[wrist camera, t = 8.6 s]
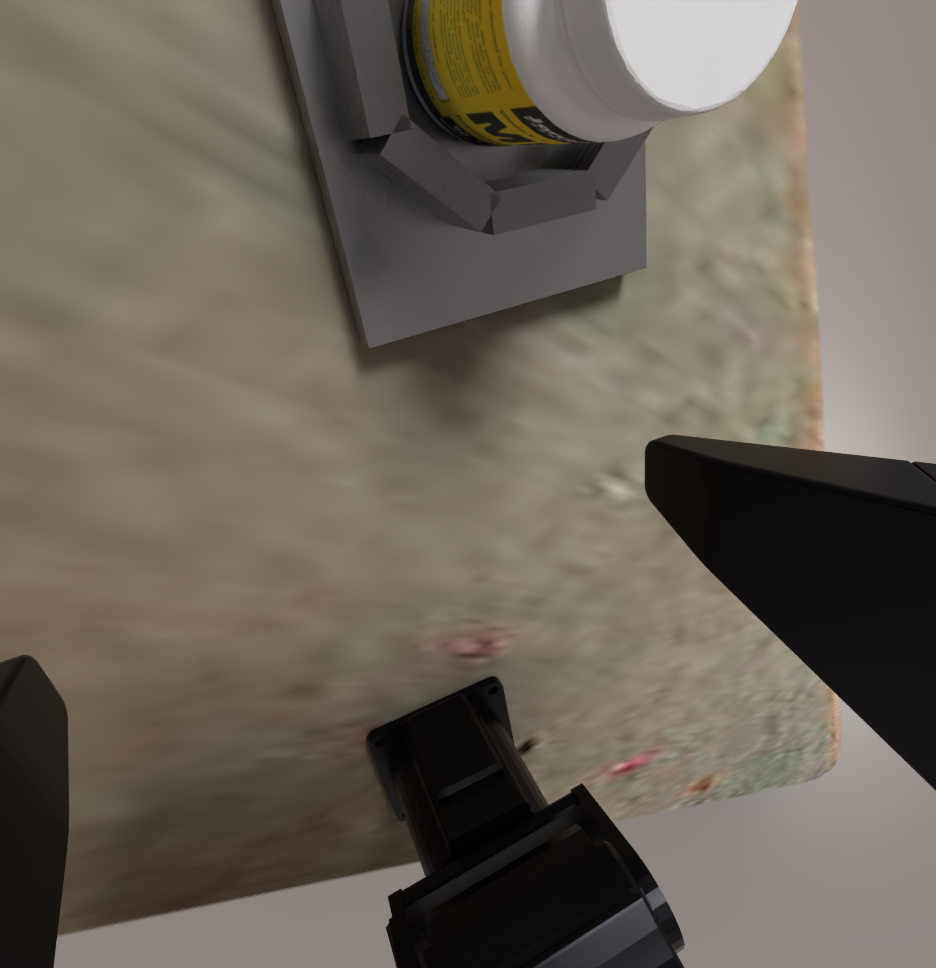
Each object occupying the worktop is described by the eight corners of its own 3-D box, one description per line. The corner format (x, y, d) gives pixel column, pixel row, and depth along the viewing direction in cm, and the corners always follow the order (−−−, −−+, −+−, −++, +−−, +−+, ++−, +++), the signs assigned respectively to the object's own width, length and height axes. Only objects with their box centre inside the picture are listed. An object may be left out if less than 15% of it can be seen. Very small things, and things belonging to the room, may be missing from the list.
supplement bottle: (412, 157, 17) (576, 155, 10) (382, -71, 14) (571, -276, 8) (566, 136, 18) (803, 124, 11) (562, -74, 16) (857, -250, 9)
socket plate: (625, 262, 22) (696, 279, 19) (359, 338, 20) (393, 372, 17) (612, -215, 16) (714, -301, 13) (219, -194, 13) (233, -294, 10)
